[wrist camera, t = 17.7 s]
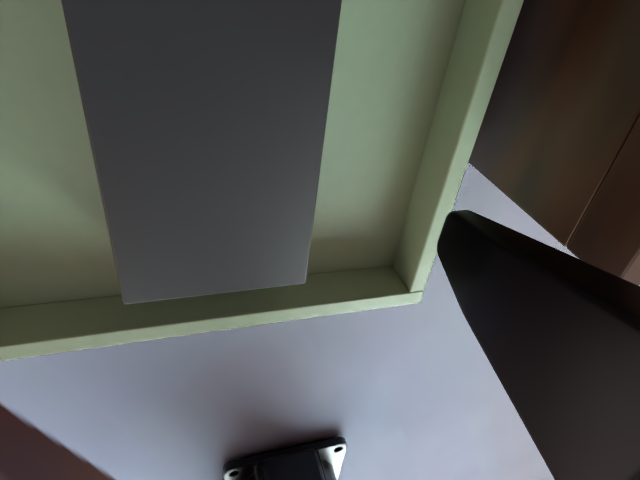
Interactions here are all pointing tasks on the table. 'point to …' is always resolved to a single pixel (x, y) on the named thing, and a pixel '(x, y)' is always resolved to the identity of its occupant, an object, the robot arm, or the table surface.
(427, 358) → the table surface
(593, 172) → the shelf
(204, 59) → the dark gray box
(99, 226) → the tray
